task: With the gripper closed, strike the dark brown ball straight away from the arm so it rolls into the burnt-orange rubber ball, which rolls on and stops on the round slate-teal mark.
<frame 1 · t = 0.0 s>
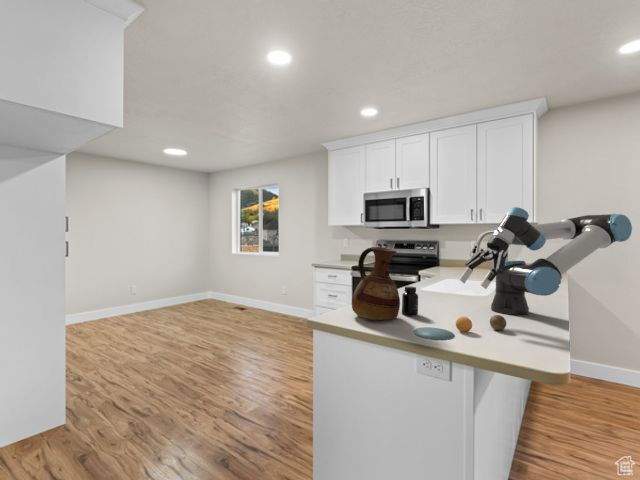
hand: (471, 284, 135), 15 cm above the counter, tool tilted 35°, fingers open, 13 cm apart
dark brown ball: (497, 322, 125), on the counter
object ball: (463, 324, 122), on the counter
ceramic pitcher: (375, 318, 141), on the counter
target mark: (433, 333, 120), on the counter
supplement bottle: (409, 314, 147), on the counter
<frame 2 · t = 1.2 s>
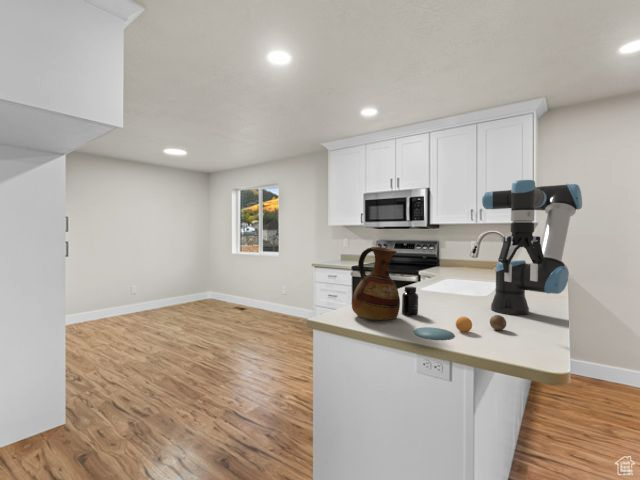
hand: (520, 281, 126), 18 cm above the counter, tool pointing down, fingers open, 10 cm apart
nothing on the counter moved.
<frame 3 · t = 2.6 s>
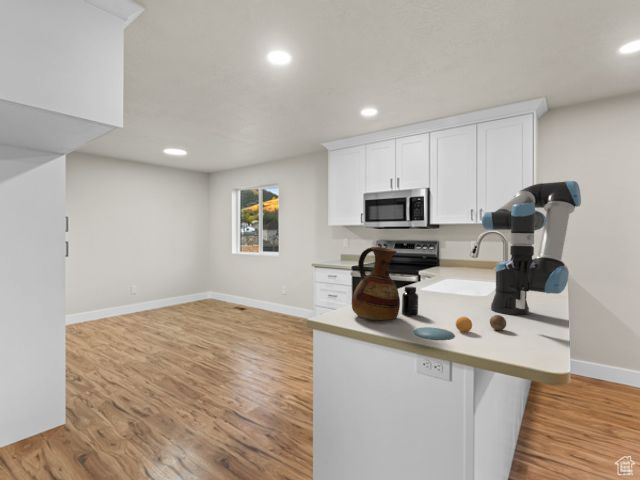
hand: (520, 308, 126), 8 cm above the counter, tool pointing down, fingers closed
nothing on the counter moved.
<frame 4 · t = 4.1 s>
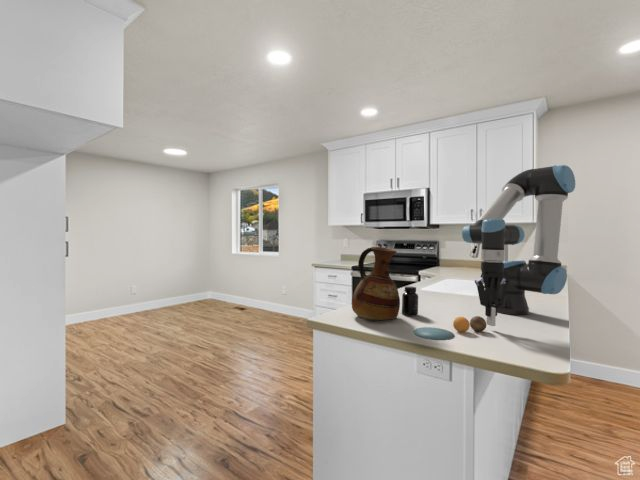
hand: (490, 324, 124), 2 cm above the counter, tool pointing down, fingers closed
dark brown ball: (478, 323, 123), on the counter
object ball: (461, 324, 122), on the counter
everything else where it was.
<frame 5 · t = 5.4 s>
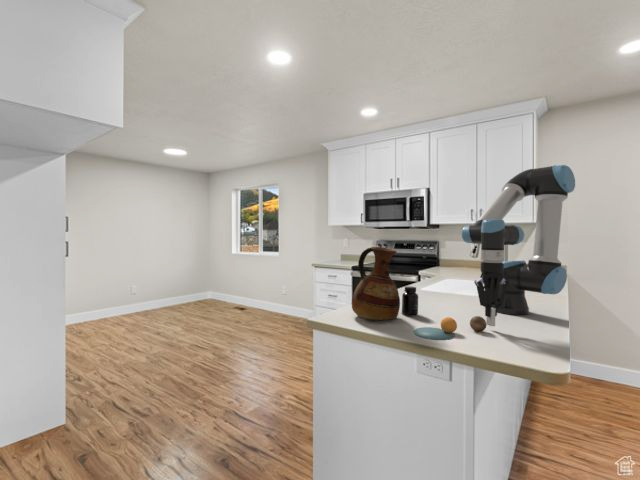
hand: (490, 325, 124), 2 cm above the counter, tool pointing down, fingers closed
object ball: (448, 325, 121), on the counter
everything else where it was.
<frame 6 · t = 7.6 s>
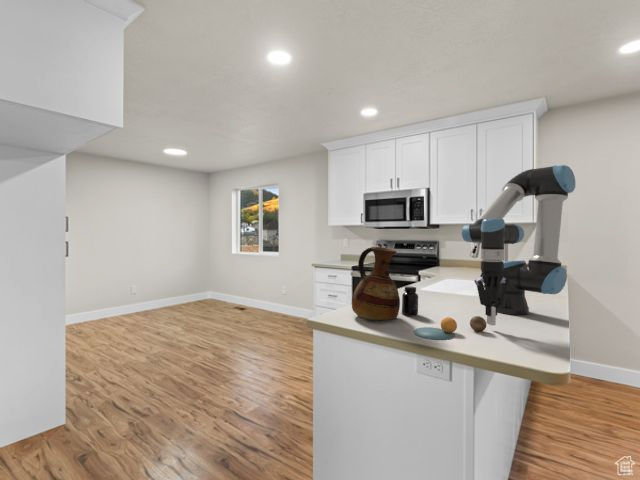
hand: (491, 324, 124), 2 cm above the counter, tool pointing down, fingers closed
nothing on the counter moved.
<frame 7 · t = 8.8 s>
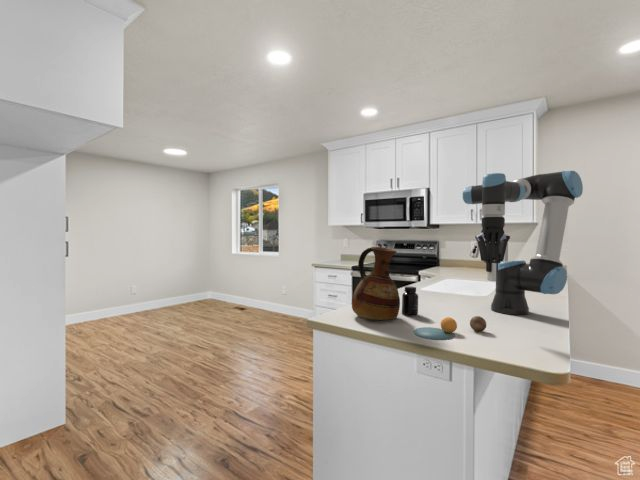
hand: (491, 280, 124), 18 cm above the counter, tool pointing down, fingers closed
nothing on the counter moved.
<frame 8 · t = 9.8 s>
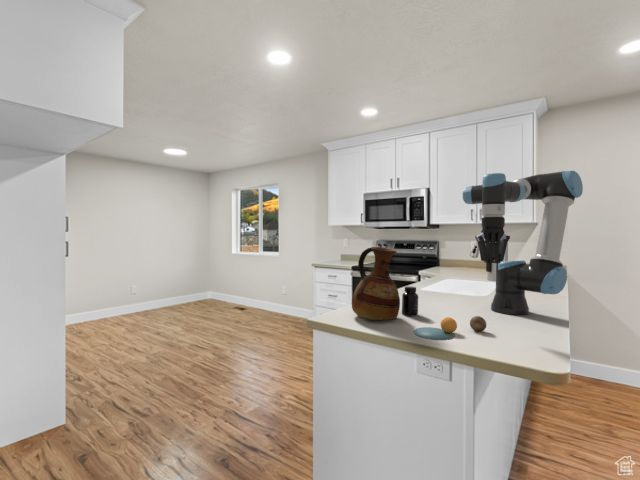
hand: (491, 280, 124), 18 cm above the counter, tool pointing down, fingers closed
nothing on the counter moved.
at the end: object ball 6.0 cm from the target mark (horizontally); object ball never touched the robot; dark brown ball first touched object ball at 4.0 s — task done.
